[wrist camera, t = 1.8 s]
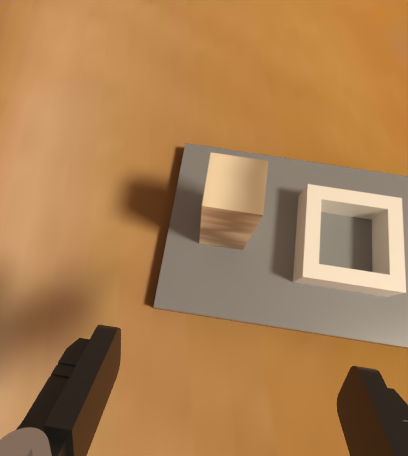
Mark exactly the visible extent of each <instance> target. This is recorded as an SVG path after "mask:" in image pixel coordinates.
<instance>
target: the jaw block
mask: <svg viewBox="0 0 408 456" xmlns="http://www.w3.org/2000/svg"><path fill="white" fill-rule="evenodd" d="M267 171H268V161H265V160H258V159H252V158H245V157H238V156H232V155H225V154H218V153H210V160H209V166H208V172H207V178H206V184H205V190H204V196H203V202H202V211H201V225H200V240H199V244H205V245H212V246H218V247H225V248H231V249H238V250H243V249H244V247H245V246H246V244H247V242H248V240H249V239H250V237H251V235H252V233H253V232H254V230H255V228H256V227H257V225H258V223H259V221H260V220H261V218H262V216H263V211H264V201H265V191H266V181H267Z"/></svg>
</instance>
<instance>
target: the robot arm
mask: <svg viewBox="0 0 408 456" xmlns="http://www.w3.org/2000/svg"><path fill="white" fill-rule="evenodd" d="M120 357H121V329H120V328H117V327H111V326H104V325H98V326H97V327H96V329H95V331H94V333H93V335H92V336H91V338H90V340H89V339H83V338H79V339H78V340H77V341H75V342H74V343H73V344H72V345H70V346H69V347H68V348H67V349H66V350H65V352H64V354H63V355H62V357H61V359H60V360H59V362H58V365H56V367H55V369H54V370H53V372H52V374H51V377H49V379H48V380H47V382H46V384H45V385H44V387H43V389H42V390H41V392H40V393H39V395H38V397H37V398H36V400H35V402H34V403H33V405H32V407H31V408H30V410H29V412H28V413H27V415H26V417H25V418H24V420H23V421H22V423H21V424H20V426H19V427H18V428H17V429H16V430H15V431H13V432H11V433H9V434H7V435H6V436H4V437H3V438H2V439H1V440H0V456H86V455H87V453H88V450H89V447H90V445H91V442H92V440H93V437H94V434H95V432H96V429H97V427H98V424H99V421H100V419H101V416H102V414H103V411H104V408H105V406H106V403H107V401H108V398H109V395H110V393H111V390H112V388H113V385H114V382H115V380H116V377H117V374H118V370H119V366H120ZM337 412H338V416H339V419H340V423H341V426H342V430H343V433H344V436H345V440H346V443H347V446H348V450H349V453H350V456H408V405H407V404H406V402H405V401H404V400H403V399H402V398H401V397H400V396H399V394H398V393H397V392H396V391H395V390H394V389H390V388H387V386H386V384H385V382H384V380H383V378H382V376H381V374H380V372H379V371H378V370H376V369H370V368H364V367H357V366H352V367H351V368H350V370H349V372H348V375H347V377H346V379H345V381H344V383H343V385H342V388H341V390H340V392H339V394H338V398H337Z"/></svg>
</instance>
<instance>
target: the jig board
mask: <svg viewBox="0 0 408 456" xmlns="http://www.w3.org/2000/svg"><path fill="white" fill-rule="evenodd" d="M210 153H218V154H225V155H232V156H238V157H245V158H252V159H258V160H265V161H268V171H267V181H266V191H265V201H264V211H263V216H262V218H261V220H260V221H259V223H258V225H257V227H256V228H255V230H254V232H253V233H252V235H251V237H250V239H249V240H248V242H247V244H246V246H245V247H244V249H243V250H238V249H231V248H225V247H218V246H212V245H205V244H199V240H200V225H201V211H202V202H203V196H204V190H205V184H206V178H207V172H208V166H209V160H210ZM153 307H154V308H155V309H161V310H167V311H174V312H180V313H186V314H193V315H199V316H205V317H212V318H218V319H224V320H231V321H237V322H243V323H250V324H256V325H262V326H269V327H275V328H281V329H288V330H294V331H300V332H307V333H313V334H319V335H326V336H332V337H338V338H345V339H351V340H357V341H364V342H370V343H376V344H383V345H389V346H395V347H402V348H408V176H403V175H396V174H389V173H383V172H376V171H369V170H362V169H356V168H349V167H342V166H336V165H329V164H322V163H316V162H309V161H302V160H295V159H289V158H282V157H275V156H269V155H262V154H255V153H249V152H242V151H235V150H229V149H222V148H215V147H208V146H202V145H195V144H188V143H185V148H184V153H183V158H182V163H181V168H180V173H179V178H178V183H177V189H176V194H175V199H174V204H173V209H172V214H171V219H170V224H169V230H168V235H167V240H166V245H165V250H164V255H163V260H162V265H161V271H160V276H159V281H158V286H157V291H156V296H155V301H154V306H153Z"/></svg>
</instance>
